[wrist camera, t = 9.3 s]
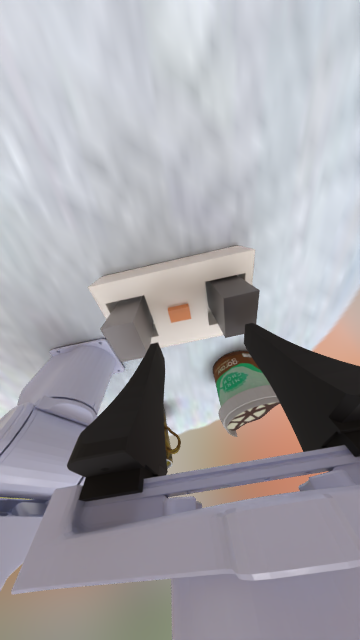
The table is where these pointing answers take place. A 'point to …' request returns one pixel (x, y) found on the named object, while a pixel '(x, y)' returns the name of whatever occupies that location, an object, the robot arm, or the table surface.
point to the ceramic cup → (167, 444)
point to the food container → (242, 390)
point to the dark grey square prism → (232, 304)
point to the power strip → (176, 292)
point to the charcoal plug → (129, 328)
